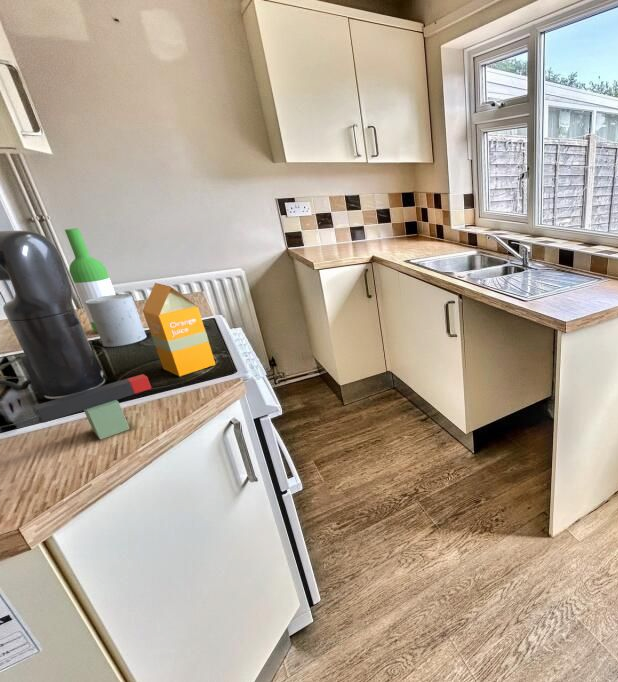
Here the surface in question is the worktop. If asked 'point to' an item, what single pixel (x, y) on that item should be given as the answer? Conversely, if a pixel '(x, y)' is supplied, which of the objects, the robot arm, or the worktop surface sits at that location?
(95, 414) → the block
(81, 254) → the wine bottle
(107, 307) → the grey speckled cylinder
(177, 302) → the orange juice
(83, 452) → the worktop surface
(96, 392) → the marker
